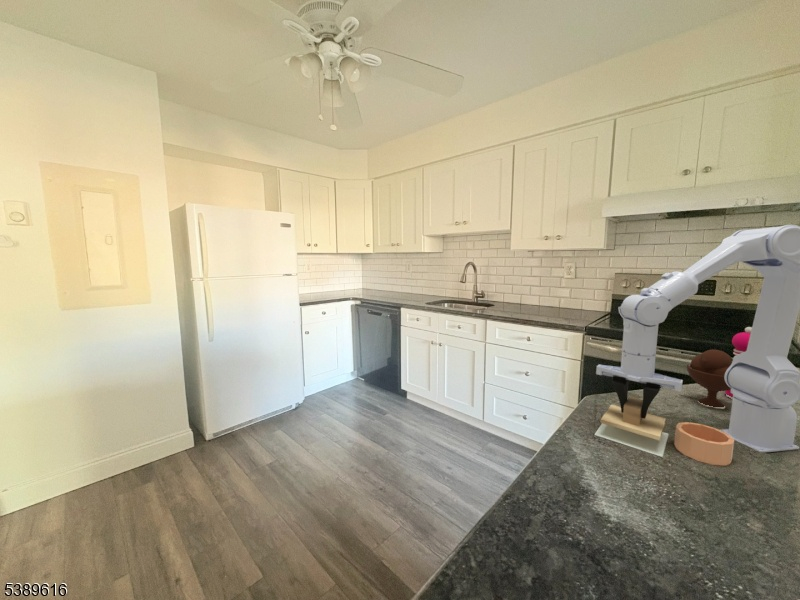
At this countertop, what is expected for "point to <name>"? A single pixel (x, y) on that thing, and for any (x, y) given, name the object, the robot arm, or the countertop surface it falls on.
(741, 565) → the countertop surface
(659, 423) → the lid
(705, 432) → the bowl
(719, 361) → the ice cream bowl
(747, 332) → the pepper mill
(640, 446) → the mat
